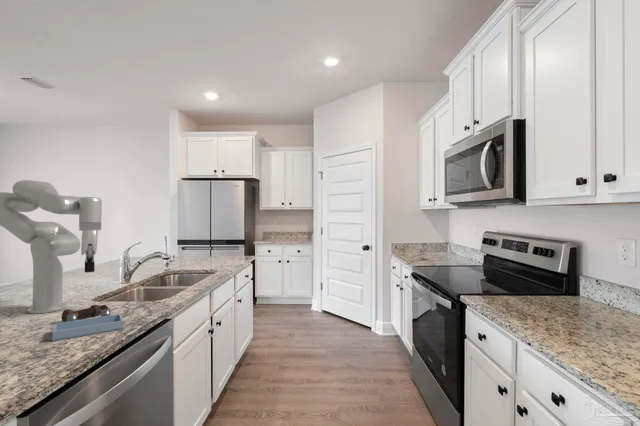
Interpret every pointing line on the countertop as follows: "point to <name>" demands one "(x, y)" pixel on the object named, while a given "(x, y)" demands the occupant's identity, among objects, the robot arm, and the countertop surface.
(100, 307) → the bolt
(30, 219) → the robot arm
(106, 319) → the tray
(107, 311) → the peg
